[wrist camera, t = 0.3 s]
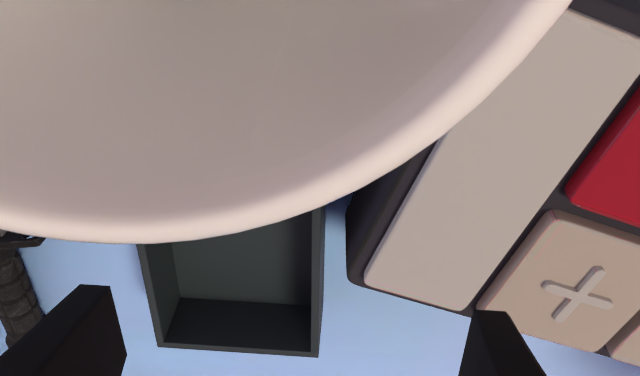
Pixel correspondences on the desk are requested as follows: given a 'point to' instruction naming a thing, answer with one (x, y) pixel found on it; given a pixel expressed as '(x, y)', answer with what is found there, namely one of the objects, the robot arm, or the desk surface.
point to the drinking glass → (231, 105)
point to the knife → (16, 287)
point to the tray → (240, 289)
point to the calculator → (526, 196)
